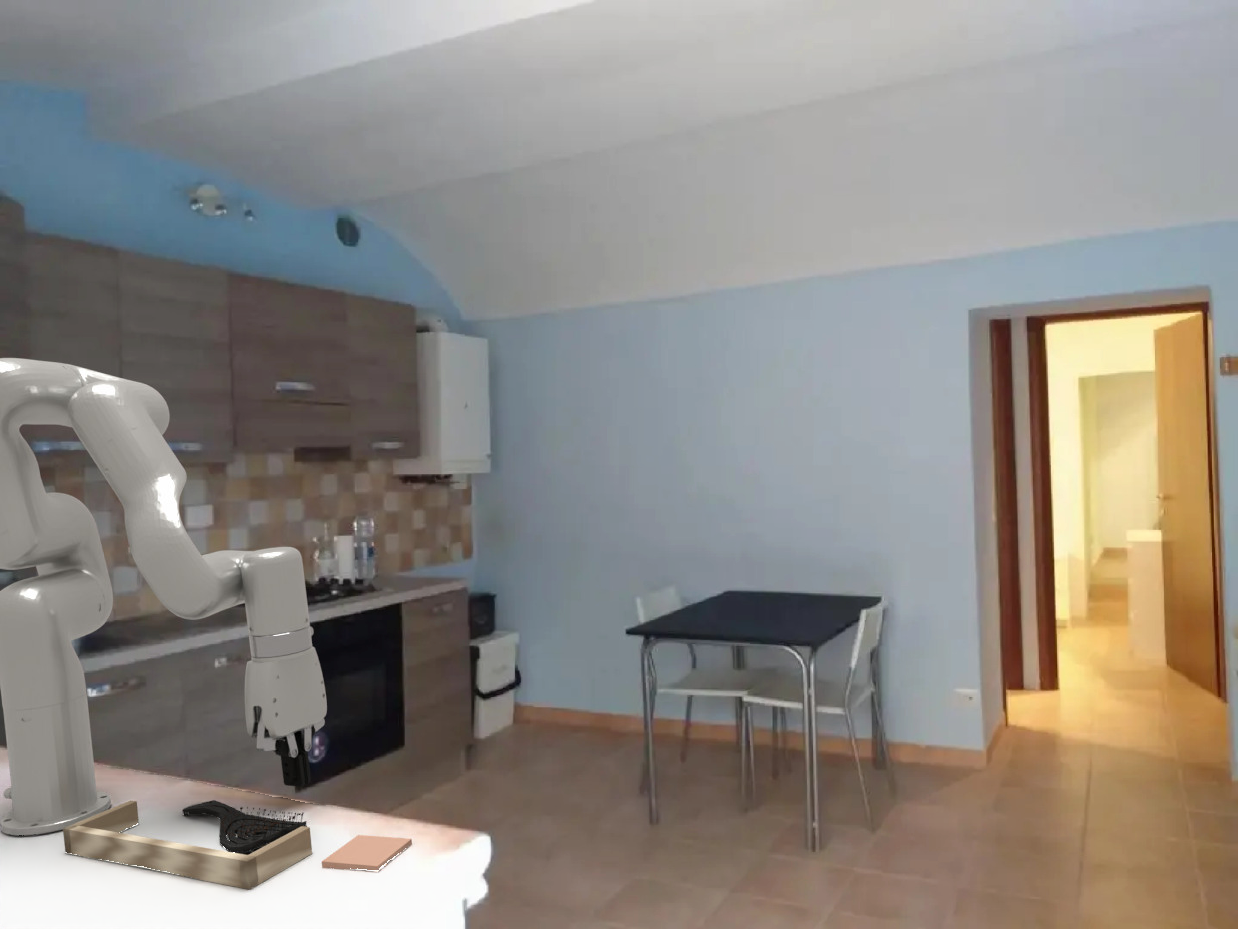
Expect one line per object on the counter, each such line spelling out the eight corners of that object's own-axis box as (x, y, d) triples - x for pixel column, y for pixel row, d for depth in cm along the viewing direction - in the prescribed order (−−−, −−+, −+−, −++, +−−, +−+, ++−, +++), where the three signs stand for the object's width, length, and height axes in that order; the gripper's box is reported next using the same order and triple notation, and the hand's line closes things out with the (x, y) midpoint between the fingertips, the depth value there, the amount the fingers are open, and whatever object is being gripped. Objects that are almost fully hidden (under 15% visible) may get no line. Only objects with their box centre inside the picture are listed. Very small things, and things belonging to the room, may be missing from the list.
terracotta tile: (322, 872, 108) (321, 861, 108) (359, 845, 114) (358, 835, 114) (378, 877, 105) (377, 866, 105) (412, 849, 112) (411, 839, 112)
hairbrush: (216, 781, 132) (321, 806, 116) (219, 808, 132) (325, 837, 116) (154, 802, 126) (256, 832, 110) (157, 831, 126) (260, 865, 110)
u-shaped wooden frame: (65, 853, 117) (62, 828, 117) (132, 823, 125) (130, 800, 125) (249, 889, 104) (247, 861, 103) (312, 853, 112) (309, 827, 111)
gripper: (302, 630, 136) (317, 762, 137) (213, 658, 123) (231, 803, 123) (343, 630, 132) (359, 765, 133) (257, 659, 119) (275, 808, 120)
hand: (297, 783), depth 128 cm, fingers closed
